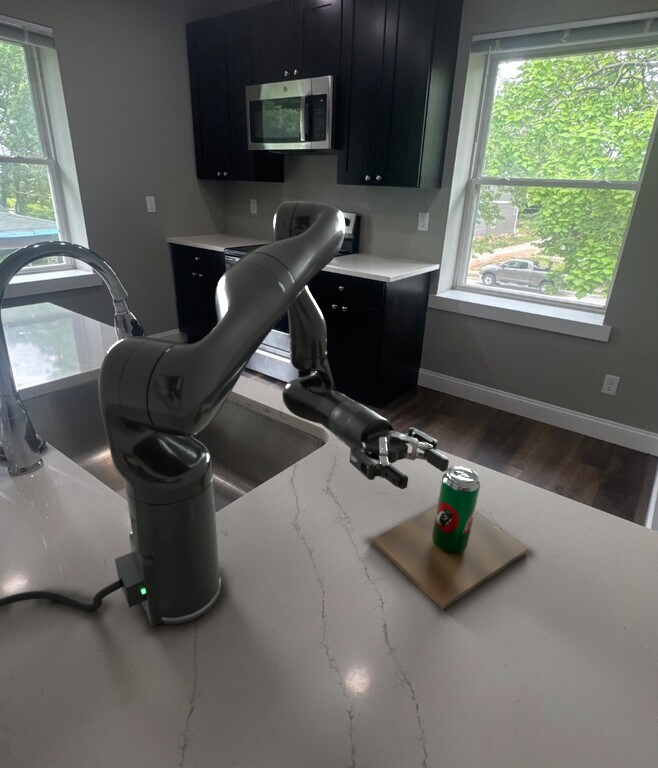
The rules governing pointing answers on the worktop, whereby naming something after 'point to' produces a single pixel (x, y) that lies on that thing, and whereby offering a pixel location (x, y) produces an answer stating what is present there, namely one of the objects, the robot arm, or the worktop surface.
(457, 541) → the soda can
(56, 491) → the worktop surface
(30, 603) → the worktop surface
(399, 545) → the wooden board
